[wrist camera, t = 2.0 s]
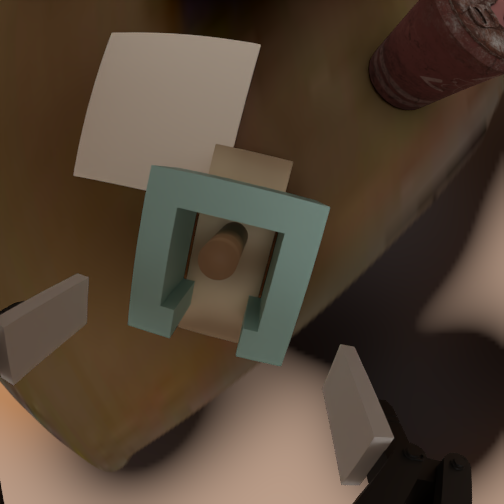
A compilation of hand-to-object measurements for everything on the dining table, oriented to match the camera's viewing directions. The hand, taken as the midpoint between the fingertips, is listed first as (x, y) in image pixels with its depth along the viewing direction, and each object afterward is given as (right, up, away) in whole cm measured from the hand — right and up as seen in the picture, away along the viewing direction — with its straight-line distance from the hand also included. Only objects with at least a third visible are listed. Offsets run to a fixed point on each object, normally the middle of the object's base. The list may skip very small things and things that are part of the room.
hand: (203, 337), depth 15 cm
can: (+15, +19, +7) cm, 25 cm away
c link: (+1, +4, +6) cm, 7 cm away
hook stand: (+1, +5, +11) cm, 12 cm away
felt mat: (-5, +16, +9) cm, 19 cm away
